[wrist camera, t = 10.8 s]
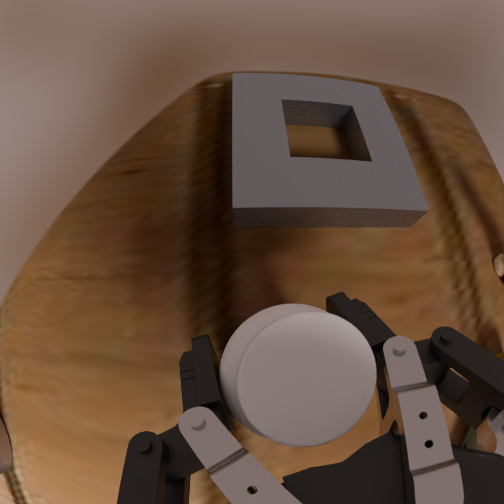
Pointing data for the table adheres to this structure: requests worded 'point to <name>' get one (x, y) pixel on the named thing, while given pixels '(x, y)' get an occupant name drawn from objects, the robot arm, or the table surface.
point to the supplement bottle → (297, 375)
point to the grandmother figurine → (499, 265)
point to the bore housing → (318, 169)
